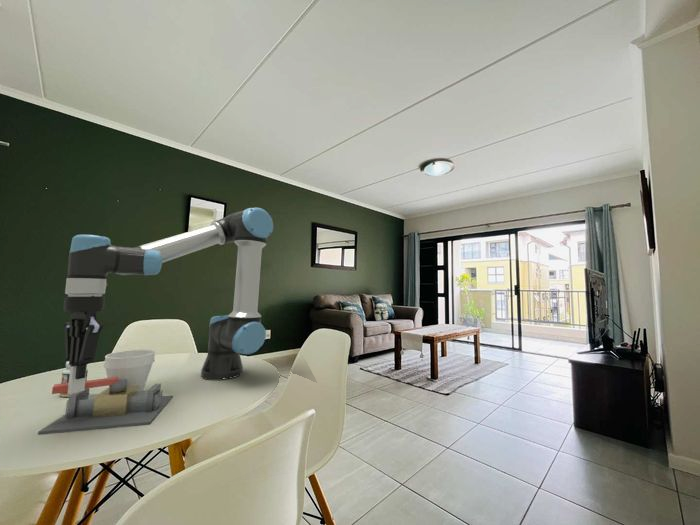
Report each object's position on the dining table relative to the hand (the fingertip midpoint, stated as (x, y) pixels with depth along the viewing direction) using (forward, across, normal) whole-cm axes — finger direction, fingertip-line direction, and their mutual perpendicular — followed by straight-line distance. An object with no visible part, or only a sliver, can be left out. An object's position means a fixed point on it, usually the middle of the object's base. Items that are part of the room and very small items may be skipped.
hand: (76, 391), depth 69 cm
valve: (+8, -2, -8) cm, 12 cm away
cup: (+8, +6, -15) cm, 18 cm away
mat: (+8, -2, -8) cm, 12 cm away
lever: (+2, +1, -4) cm, 4 cm away
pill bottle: (+7, +24, -10) cm, 27 cm away
